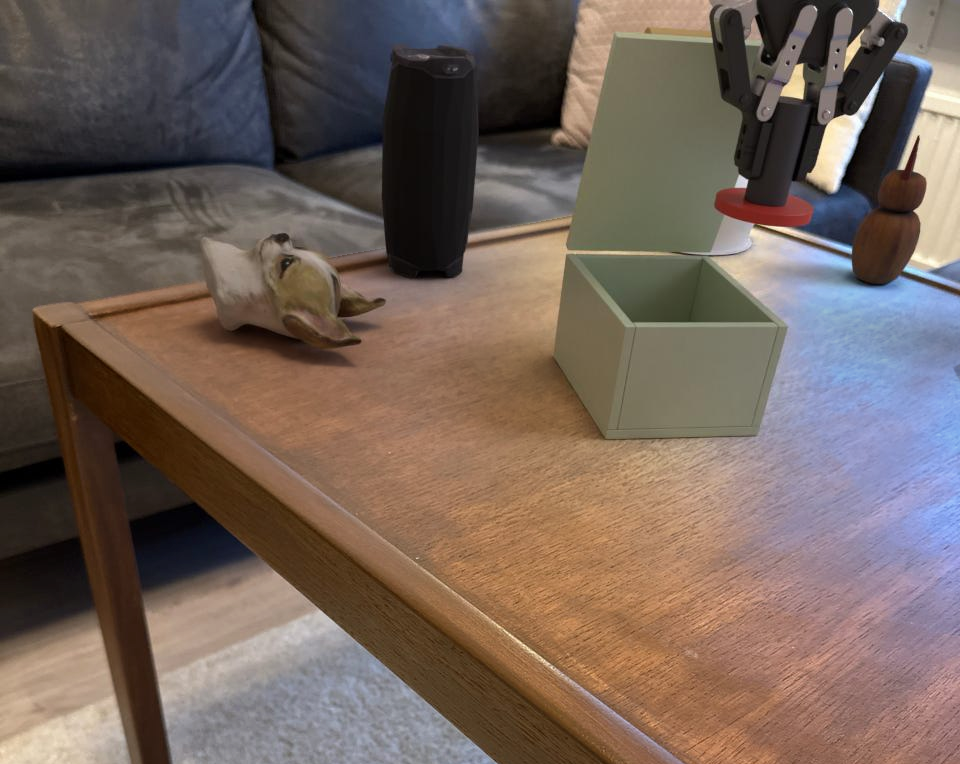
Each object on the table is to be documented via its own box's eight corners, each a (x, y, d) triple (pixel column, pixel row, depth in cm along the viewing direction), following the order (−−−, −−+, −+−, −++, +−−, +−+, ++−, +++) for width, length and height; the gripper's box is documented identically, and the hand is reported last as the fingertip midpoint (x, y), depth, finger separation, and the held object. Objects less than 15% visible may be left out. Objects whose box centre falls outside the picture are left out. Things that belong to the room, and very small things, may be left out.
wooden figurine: (880, 293, 107) (930, 141, 97) (834, 276, 110) (879, 128, 100) (911, 282, 110) (963, 136, 101) (866, 267, 113) (912, 123, 104)
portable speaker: (364, 266, 100) (364, 45, 88) (422, 248, 106) (430, 38, 94) (429, 289, 97) (439, 61, 84) (485, 268, 103) (502, 53, 91)
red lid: (745, 194, 75) (771, 86, 71) (827, 217, 72) (859, 106, 67) (695, 207, 71) (719, 93, 67) (780, 232, 68) (811, 115, 63)
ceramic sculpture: (222, 199, 84) (393, 232, 84) (225, 298, 90) (385, 329, 89) (175, 237, 76) (363, 273, 76) (181, 343, 82) (357, 377, 81)
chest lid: (786, 47, 69) (763, 13, 72) (617, 36, 67) (599, 2, 69) (710, 252, 83) (693, 217, 85) (567, 250, 80) (554, 214, 83)
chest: (758, 435, 77) (789, 326, 71) (605, 439, 74) (625, 326, 69) (686, 354, 89) (708, 255, 83) (552, 356, 86) (565, 253, 81)
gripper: (767, -139, 55) (698, 189, 66) (984, -114, 58) (885, 196, 69) (716, -142, 61) (660, 160, 71) (916, -119, 64) (834, 168, 74)
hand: (771, 176), depth 70 cm, fingers closed on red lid, 3 cm apart
